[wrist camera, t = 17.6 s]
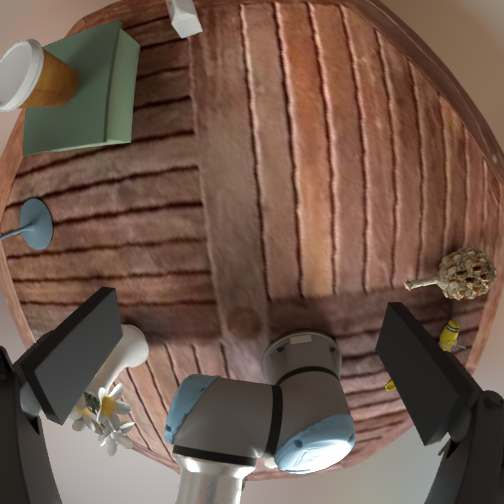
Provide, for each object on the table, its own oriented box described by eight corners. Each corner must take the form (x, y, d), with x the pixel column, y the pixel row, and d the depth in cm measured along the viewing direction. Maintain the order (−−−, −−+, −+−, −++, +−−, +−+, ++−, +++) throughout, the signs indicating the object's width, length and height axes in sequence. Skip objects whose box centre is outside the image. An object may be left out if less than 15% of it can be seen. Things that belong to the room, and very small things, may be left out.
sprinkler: (488, 335, 42) (448, 406, 47) (471, 320, 49) (437, 388, 55) (426, 330, 43) (386, 410, 48) (411, 313, 50) (377, 388, 55)
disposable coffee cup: (37, 81, 28) (-14, 70, 17) (82, 47, 27) (33, 22, 16) (46, 129, 31) (-10, 127, 19) (93, 95, 30) (38, 78, 18)
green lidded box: (133, 145, 41) (103, 141, 32) (57, 154, 41) (22, 155, 32) (143, 42, 36) (119, 20, 26) (67, 62, 36) (36, 49, 26)
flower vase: (134, 377, 55) (91, 462, 31) (90, 308, 50) (18, 382, 26) (183, 367, 53) (149, 468, 30) (138, 290, 49) (65, 377, 25)
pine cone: (477, 235, 43) (508, 249, 34) (474, 278, 46) (502, 297, 37) (389, 256, 45) (415, 277, 36) (389, 304, 48) (412, 332, 39)
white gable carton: (193, 4, 33) (179, -25, 24) (202, 31, 35) (189, 2, 26) (173, 11, 34) (155, -16, 24) (181, 38, 36) (163, 12, 26)
